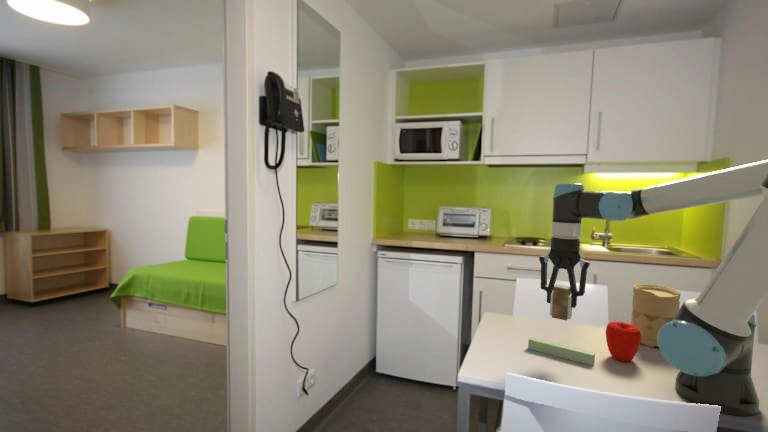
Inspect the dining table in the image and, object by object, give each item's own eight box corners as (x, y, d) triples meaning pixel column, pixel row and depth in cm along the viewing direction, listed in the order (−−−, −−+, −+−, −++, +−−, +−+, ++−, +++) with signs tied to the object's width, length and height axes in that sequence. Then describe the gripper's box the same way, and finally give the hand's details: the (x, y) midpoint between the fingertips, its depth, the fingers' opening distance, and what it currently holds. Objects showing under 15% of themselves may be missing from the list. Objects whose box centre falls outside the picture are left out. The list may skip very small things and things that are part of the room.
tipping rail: (594, 362, 108) (594, 352, 108) (593, 365, 106) (593, 355, 106) (530, 346, 119) (530, 337, 119) (528, 348, 117) (528, 339, 117)
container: (686, 350, 118) (690, 294, 117) (647, 349, 118) (650, 293, 117) (657, 334, 131) (661, 284, 129) (621, 334, 131) (625, 283, 129)
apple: (633, 354, 114) (635, 320, 113) (644, 367, 106) (647, 330, 105) (600, 350, 116) (602, 316, 116) (609, 363, 108) (611, 326, 107)
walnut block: (569, 316, 110) (571, 286, 109) (566, 320, 106) (568, 289, 106) (554, 313, 112) (556, 284, 111) (551, 317, 109) (553, 286, 108)
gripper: (601, 238, 105) (595, 319, 107) (537, 233, 116) (533, 306, 117) (597, 241, 99) (591, 326, 101) (531, 235, 109) (526, 312, 111)
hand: (560, 315), depth 109 cm, fingers closed on walnut block, 4 cm apart
